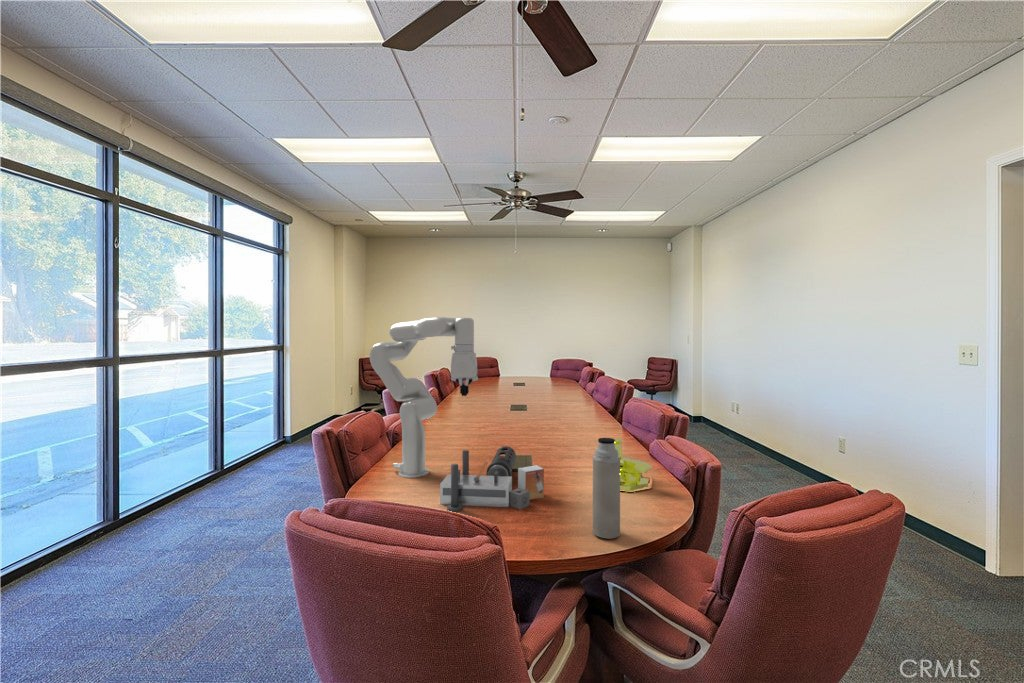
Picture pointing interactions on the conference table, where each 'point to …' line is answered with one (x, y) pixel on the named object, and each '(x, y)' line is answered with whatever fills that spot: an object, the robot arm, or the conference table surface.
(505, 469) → the muzzle brake
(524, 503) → the dice cube
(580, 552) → the conference table surface
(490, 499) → the breaker panel
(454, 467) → the post near
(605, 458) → the thermos bottle
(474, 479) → the paddle
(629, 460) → the yellow-green lump
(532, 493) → the small box
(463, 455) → the post far
